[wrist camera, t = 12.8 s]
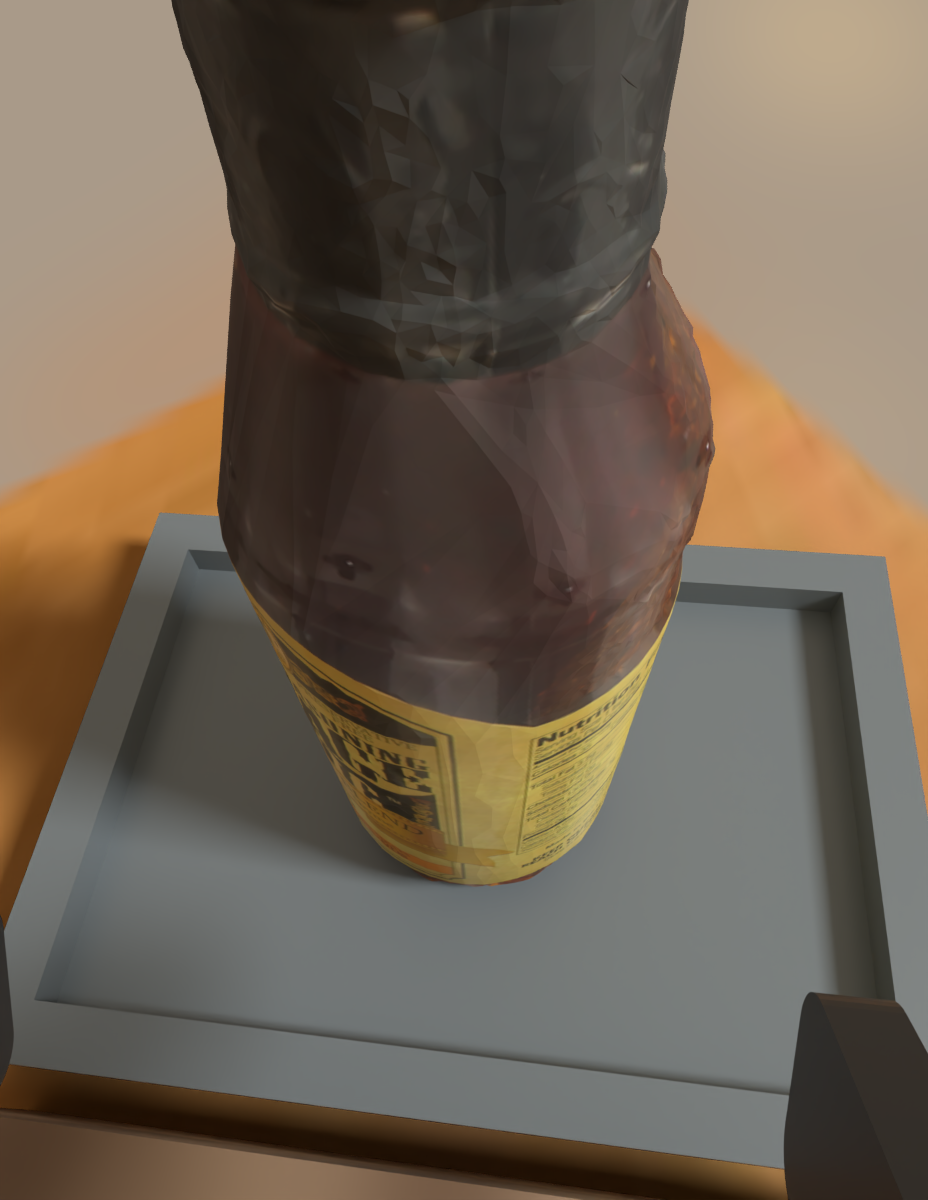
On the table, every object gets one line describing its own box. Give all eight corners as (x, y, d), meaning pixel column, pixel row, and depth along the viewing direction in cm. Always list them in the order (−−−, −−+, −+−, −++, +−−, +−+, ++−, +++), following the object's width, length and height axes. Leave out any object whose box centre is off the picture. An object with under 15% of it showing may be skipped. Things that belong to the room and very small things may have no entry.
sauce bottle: (321, 715, 23) (-265, -558, 6) (541, 627, 24) (601, -668, 7) (412, 964, 19) (-342, -291, 2) (662, 850, 20) (1393, -596, 3)
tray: (10, 1064, 20) (-43, 1056, 18) (184, 556, 27) (159, 512, 25) (939, 1190, 18) (989, 1196, 16) (857, 600, 25) (885, 557, 23)
